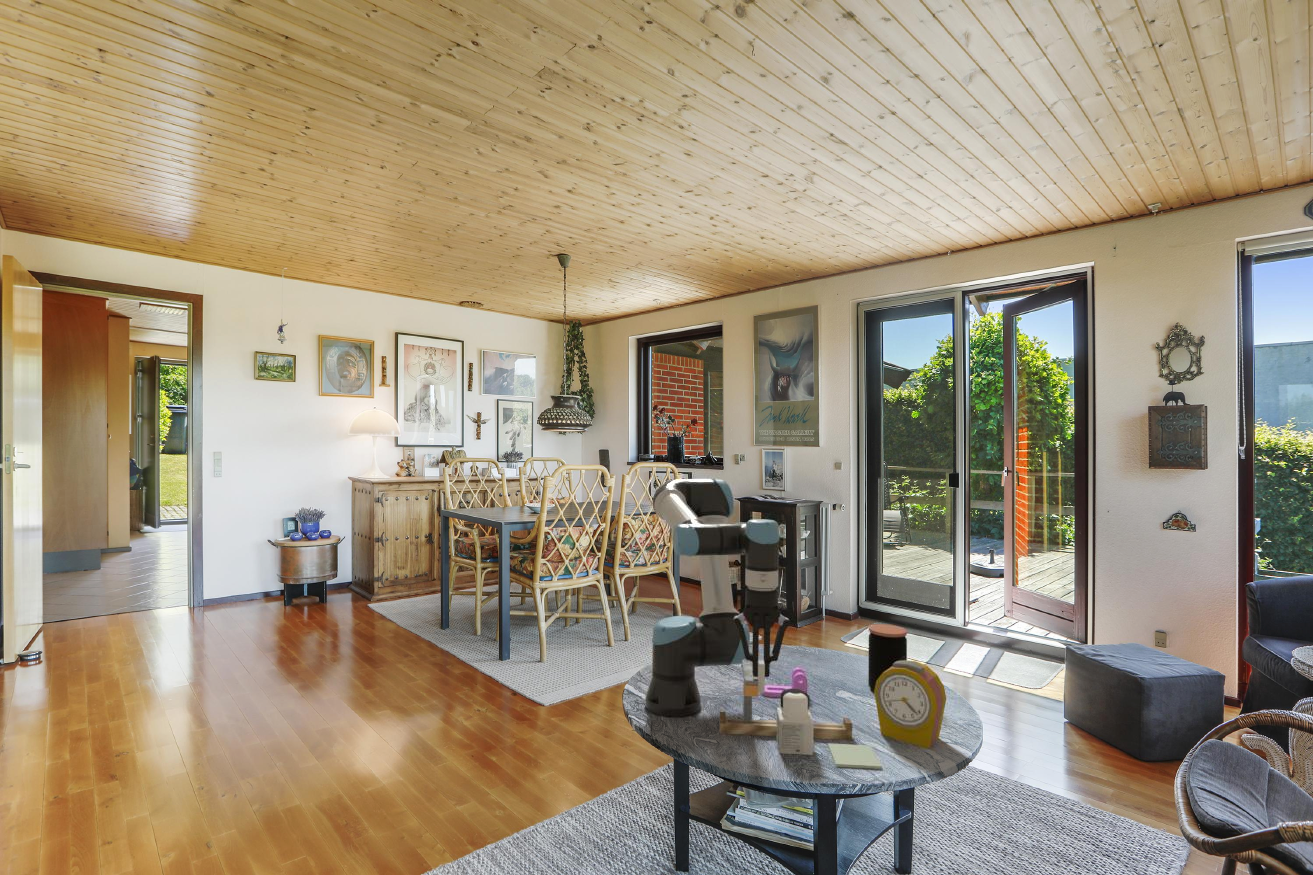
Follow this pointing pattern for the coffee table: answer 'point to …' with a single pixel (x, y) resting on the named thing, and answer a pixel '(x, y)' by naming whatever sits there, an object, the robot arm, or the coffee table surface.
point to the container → (794, 723)
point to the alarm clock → (910, 703)
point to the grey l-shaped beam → (748, 690)
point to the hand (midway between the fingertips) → (760, 690)
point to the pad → (854, 756)
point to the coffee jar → (885, 649)
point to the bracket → (797, 683)
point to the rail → (770, 728)
